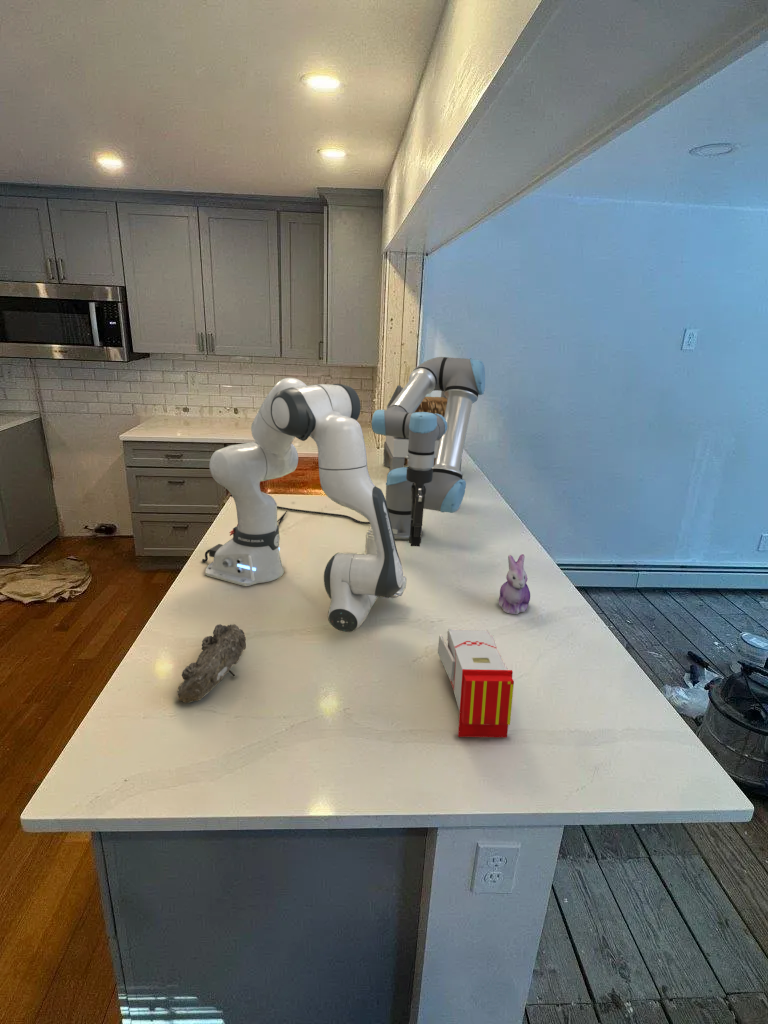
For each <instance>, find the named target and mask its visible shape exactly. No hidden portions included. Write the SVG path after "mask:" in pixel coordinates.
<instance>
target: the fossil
mask: <svg viewBox="0 0 768 1024" xmlns="http://www.w3.org/2000/svg"><path fill="white" fill-rule="evenodd" d="M246 640H247V637H246V633H245V632H244V630H243V629H241V628H240V627H239V626H238V625H237V624H235V623H233V624H231V623H230V624H227V625H223V624H221V623H220V624H216V625H215V627H214V629H213V630H212V635H208V636H205V637H204V638H203V639H202V641H201V650H202V651H201V652H200V653H199V655H198V657H197V660H196V661H193V662H190V664H189V665H187V666H186V667H185V668H184V669H183V670H182V672H181V674H180V675H181V677H182V680H183V682H182V683H181V684H180V685H179V686H178V687H177V689H178V690H177V691H176V692H177V698H178V699H177V700H178V701H179V702H180V701H181V702H183V703H185V704H187V703H192V702H196V701H197V702H200V701H201V700H202V699H203V698H204V697H205V696H206V695H207V694H209V693H210V692H211V691H212V690H213V689H214V688H215V687H216V686H217V685H218V684H219V683H220V682H222V680H223V679H224V677H225V675H227V674H228V673H229V674H230V675H231V676H232V677H236V674H235V673H234V672H233V671H232V670H231V669H232V667H233V666H234V665H236V664H237V663H238V661H239V660H240V659H241V656H242V654H243V652H244V650H246V649H247V641H246Z"/></svg>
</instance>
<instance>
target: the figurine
mask: <svg viewBox="0 0 768 1024" xmlns="http://www.w3.org/2000/svg"><path fill="white" fill-rule="evenodd" d="M507 561H508V562H507V563H508V571H507V573H506V576H505V578H506V581H505V582H504V583H503V584H501V586H500V588H499V589H500V590H499V598H498V605H499V607H500V608H501V609H502V611H503V612H504V613H507V614H511V615H518V614H519V613H525V612H526V611H527V609H528V607H529V604H530V601H531V591H530V588H529V585H528V584H527V582H528V575H527V571H526V570H525V568H524V567H525V566H524V563H525V554H524V553H521V554H520V555H519V557H518V558H517V560H515V559H514V557H513V556H512V555H511V554H509V555H508V556H507Z"/></svg>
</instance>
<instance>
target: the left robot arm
mask: <svg viewBox="0 0 768 1024" xmlns="http://www.w3.org/2000/svg"><path fill="white" fill-rule="evenodd" d="M361 407H362V406H361V401H360V397H359V395H358V393H357V391H356V390H355V389H354V388H353V387H352V386H349V385H346V384H342V383H333V384H332V383H331V384H330V383H329V384H328V383H315V384H310V385H307V384H306V383H305V382H304V381H302V380H300V379H298V378H296V377H285V378H282V379H280V380H279V381H278V382H276V383H275V385H274V386H273V388H272V389H271V390H270V391H269V392H268V394H267V395H266V397H265V398H264V400H263V402H262V404H261V406H260V407H259V409H258V411H257V413H256V415H255V416H254V419H253V420H252V422H251V426H250V430H251V436H252V438H253V440H254V441H251V442H243V443H238V444H237V443H236V444H231V445H228V446H227V445H226V446H225V447H222V448H219V449H217V450H215V451H214V452H213V453H212V455H211V457H210V459H209V464H208V465H209V472H210V475H211V477H212V479H213V480H214V481H215V482H216V483H217V484H218V485H220V486H221V487H223V488H225V489H226V490H227V491H228V492H229V494H230V495H232V496H231V497H232V498H233V500H234V504H235V508H236V509H235V510H236V518H237V519H236V520H237V523H236V524H237V525H236V526H235V527H233V528H232V530H230V531H229V536H230V537H231V536H233V537H232V538H231V539H229V540H228V541H226V542H224V543H223V544H221V543H218V544H216V545H215V546H213V547H211V548H209V549H207V550H206V551H205V553H204V558H202V559H201V561H202V562H204V563H207V561H208V560H209V557H210V558H213V559H212V560H213V561H212V562H210V563H209V564H208V565H207V566H206V568H205V576H207V577H209V578H210V577H211V578H214V579H218V580H222V581H225V582H228V583H232V584H235V585H239V586H243V587H250V586H254V585H256V584H264V583H268V582H272V581H275V580H277V579H280V577H282V576H283V575H284V573H285V569H284V566H283V562H282V559H281V553H280V550H281V548H280V539H281V538H280V526H279V524H278V522H277V521H278V508H277V506H278V503H277V502H276V499H274V497H273V496H272V495H270V494H269V493H267V492H264V491H262V489H261V485H260V484H261V482H265V481H270V480H275V479H280V478H283V477H285V476H287V475H289V474H291V473H294V472H295V471H296V469H297V467H298V463H299V453H298V450H297V448H296V447H295V445H294V444H293V441H294V440H295V438H297V439H298V440H300V441H302V442H305V441H307V440H308V439H309V438H311V439H312V440H313V441H314V442H315V444H316V447H317V454H318V455H317V459H318V476H319V483H320V488H321V490H322V492H323V493H324V494H325V495H326V497H328V499H329V500H330V501H332V502H333V503H335V504H337V505H339V506H341V507H345V508H346V509H349V510H352V511H354V512H355V513H357V514H359V515H361V516H362V517H364V518H365V519H366V521H367V522H370V524H369V525H370V526H371V527H372V531H373V536H374V540H375V545H376V549H377V554H365V553H357V552H337V553H335V554H334V555H332V556H331V557H330V559H329V560H328V562H327V563H326V565H325V568H324V572H323V585H324V588H325V592H326V593H327V595H328V597H329V599H330V606H329V608H328V609H329V610H328V612H327V613H328V614H327V619H328V622H329V625H330V626H332V627H333V629H335V630H337V631H338V632H343V633H353V632H355V631H356V630H358V629H359V628H361V626H362V625H363V623H364V622H365V620H366V619H367V618H368V616H369V614H370V612H371V609H372V608H373V606H374V605H375V603H376V601H377V599H378V598H387V599H389V598H390V599H397V598H399V597H402V596H403V593H404V591H405V590H406V588H407V577H406V576H405V575H404V569H403V565H402V562H401V558H400V556H399V552H398V548H397V545H396V540H395V539H394V534H393V530H392V525H391V521H390V516H389V512H388V508H387V504H386V496H385V495H384V493H383V491H382V489H381V488H379V487H378V486H376V484H375V483H374V482H373V481H372V478H371V476H370V473H369V470H368V457H367V449H366V442H365V438H364V437H365V436H364V433H363V429H362V426H361V424H360V423H359V422H358V419H359V417H360V415H361ZM278 526H279V527H278ZM208 556H209V557H208Z"/></svg>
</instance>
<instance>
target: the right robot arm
mask: <svg viewBox="0 0 768 1024" xmlns="http://www.w3.org/2000/svg"><path fill="white" fill-rule="evenodd" d="M402 388H403V390H402V391H401V392H400V393H399V395H398V396H397V397H396V399H395V400H394V401H393V403H392V404H391V405H390V407H389V408H388V409H387V408H386V409H376V410H375V411H374V412H373V414H372V418H371V429H372V432H373V433H374V434H376V435H380V436H384V437H386V436H394V437H403V438H409V444H408V455H406V459H408V462H407V465H408V466H407V465H406V466H404V467H402V468H397V469H393V470H391V471H390V470H389V472H388V473H387V475H386V482H385V500H386V504H387V508H388V512H389V516H390V521H391V525H392V530H393V534H394V539H395V541H409V536H410V535H411V544H410V547H421V544H420V538H421V539H422V535H423V520H424V510H430V511H435V512H436V511H437V512H441V513H450V514H453V513H456V512H457V511H458V510H459V509H460V507H461V505H462V502H463V500H464V497H465V493H466V488H467V482H466V480H465V479H464V478H463V473H462V471H461V472H460V470H459V469H460V463H461V464H462V462H461V458H462V457H463V452H464V448H465V444H466V437H467V432H468V427H469V422H470V417H471V412H472V406H473V404H475V403H476V402H477V401H478V398H479V396H483V395H484V394H485V388H486V368H485V364H484V362H483V361H482V360H480V359H476V358H475V359H474V358H461V357H447V356H437V357H436V356H435V357H433V358H430V359H428V360H425V361H424V362H422V363H420V364H418V366H416V367H415V368H414V369H413V370H412V371H411V372H410V374H409V376H408V382H407V383H406V384H405V386H404V387H402ZM433 391H440V392H442V391H445V393H444V395H445V397H446V398H447V405H446V410H445V415H444V417H443V416H442V415H440V414H433V413H429V412H415V411H416V409H417V408H418V406H419V405H420V404H421V402H422V401H423V399H424V398H425V397H427V395H429V394H431V393H433ZM414 412H415V413H414ZM438 439H440V440H439V445H438V450H437V455H436V460H435V465H434V450H435V441H436V440H438ZM229 497H233V496H232V495H231V494H230V495H229ZM277 509H280V510H284V511H285V510H286V511H292V512H297V513H298V512H299V513H308V514H313V515H314V514H315V515H324V516H332V517H342V518H346V519H350V520H351V521H354V522H356V523H358V524H361V525H371V524H370V522H369V521H362V520H358V519H356V518H354V517H352V516H350V515H345V514H340V513H331V512H322V511H313V510H306V509H297V508H291V507H284V506H279V505H277Z"/></svg>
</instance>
